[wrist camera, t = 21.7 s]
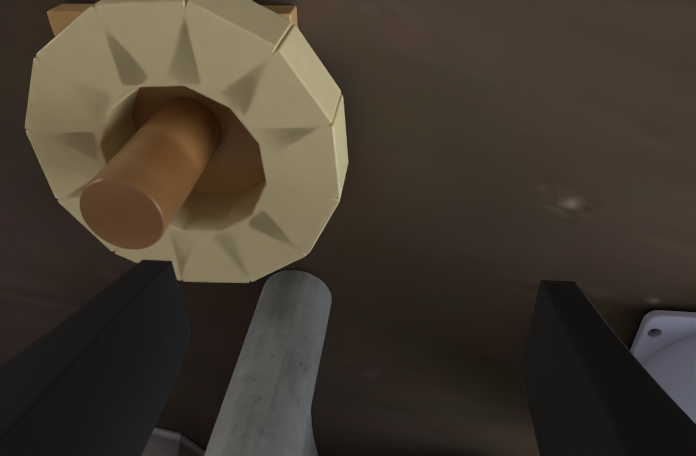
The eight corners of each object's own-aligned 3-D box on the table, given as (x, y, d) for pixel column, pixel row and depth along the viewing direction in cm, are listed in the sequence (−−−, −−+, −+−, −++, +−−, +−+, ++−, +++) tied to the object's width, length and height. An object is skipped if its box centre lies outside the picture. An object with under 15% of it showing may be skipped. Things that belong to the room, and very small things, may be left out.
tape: (355, 245, 22) (348, 285, 20) (118, 242, 23) (91, 280, 21) (333, -28, 16) (321, -8, 14) (20, -11, 18) (-30, 10, 16)
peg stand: (311, 211, 22) (277, 328, 17) (123, 202, 23) (36, 311, 18) (296, 5, 18) (243, 79, 13) (61, 3, 19) (-80, 72, 13)
